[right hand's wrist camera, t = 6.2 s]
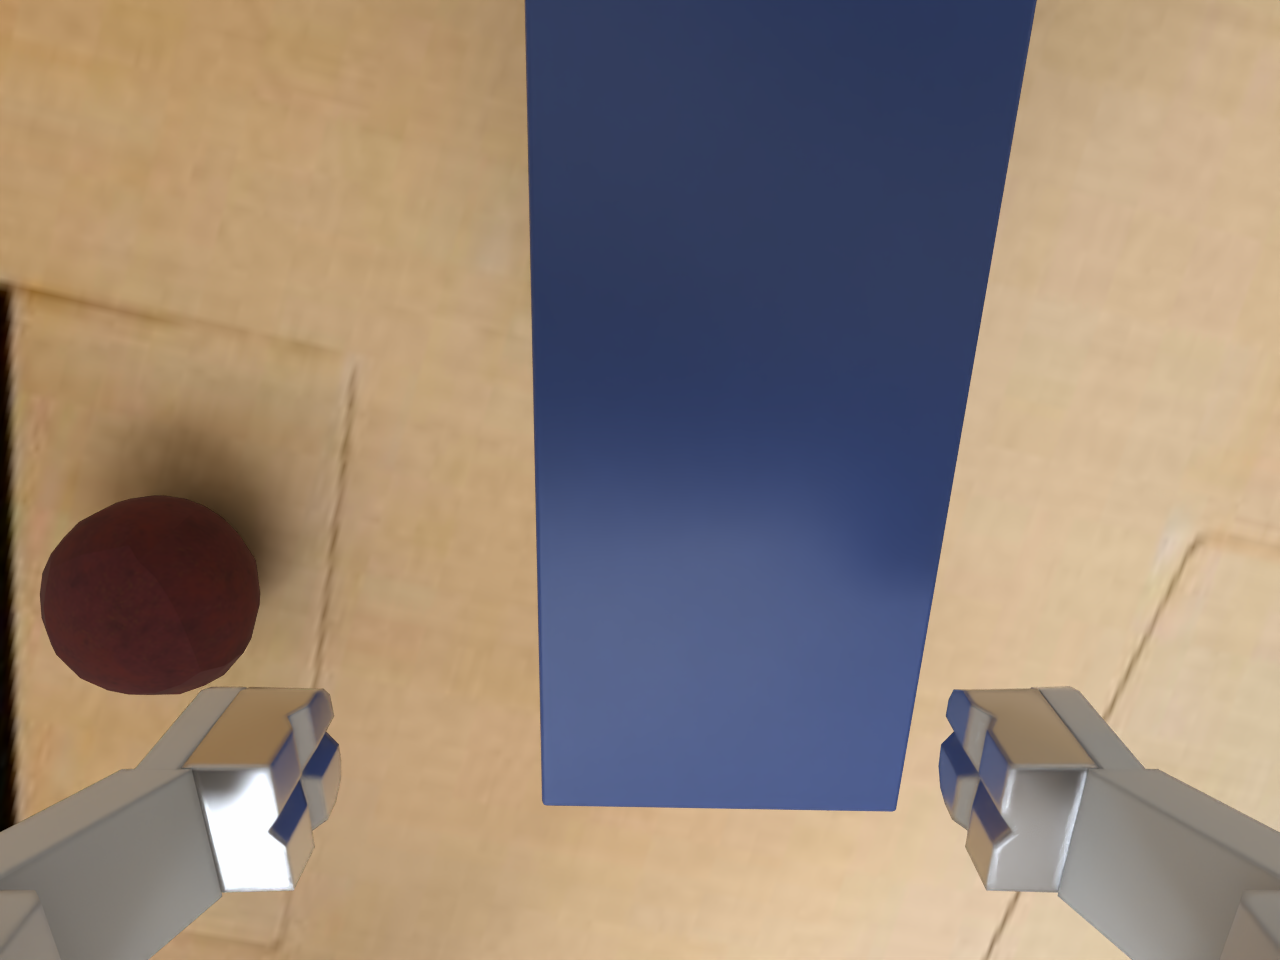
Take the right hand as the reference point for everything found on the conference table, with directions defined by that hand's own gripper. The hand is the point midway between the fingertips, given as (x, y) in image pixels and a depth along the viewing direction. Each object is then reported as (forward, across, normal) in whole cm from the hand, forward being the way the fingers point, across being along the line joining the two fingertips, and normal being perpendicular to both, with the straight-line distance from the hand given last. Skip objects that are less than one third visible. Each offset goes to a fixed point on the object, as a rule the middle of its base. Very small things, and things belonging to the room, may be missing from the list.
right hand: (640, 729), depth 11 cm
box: (+12, -2, -8) cm, 15 cm away
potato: (+22, +18, +8) cm, 30 cm away
